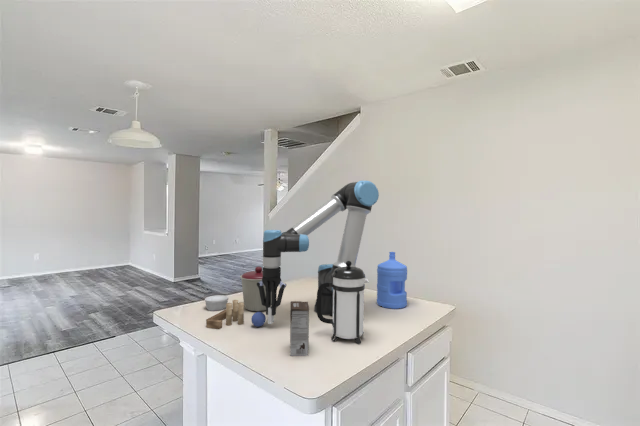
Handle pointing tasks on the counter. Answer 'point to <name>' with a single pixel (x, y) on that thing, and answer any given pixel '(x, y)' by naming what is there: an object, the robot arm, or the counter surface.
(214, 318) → the rail
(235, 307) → the pin
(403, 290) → the water jug
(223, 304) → the ramekin
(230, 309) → the pin
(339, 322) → the coffee press
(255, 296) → the canister
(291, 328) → the coffee box
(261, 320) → the ball
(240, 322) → the pin front
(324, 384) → the counter surface
